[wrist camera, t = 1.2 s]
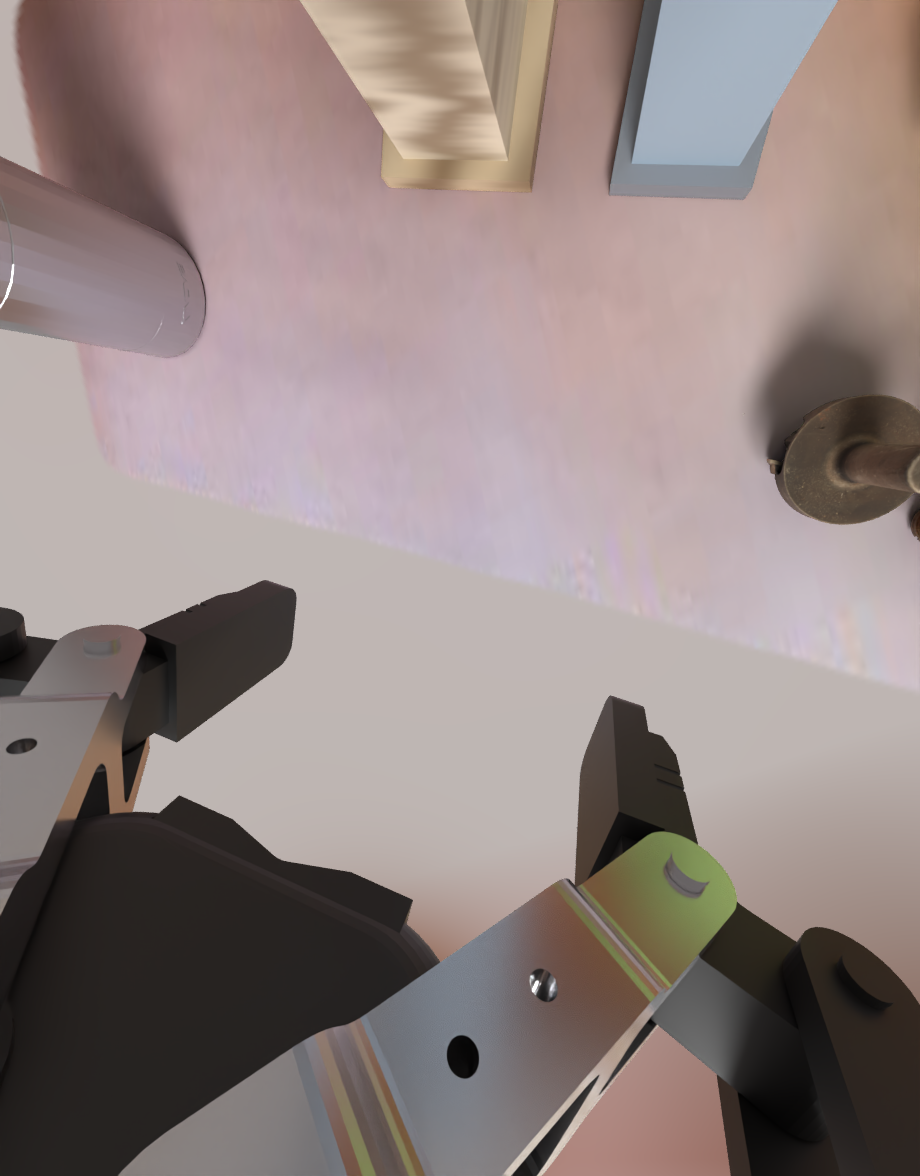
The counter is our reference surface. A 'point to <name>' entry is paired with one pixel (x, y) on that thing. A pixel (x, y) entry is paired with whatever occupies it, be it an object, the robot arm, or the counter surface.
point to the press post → (708, 93)
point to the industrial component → (852, 460)
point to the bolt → (916, 525)
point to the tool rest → (448, 85)
